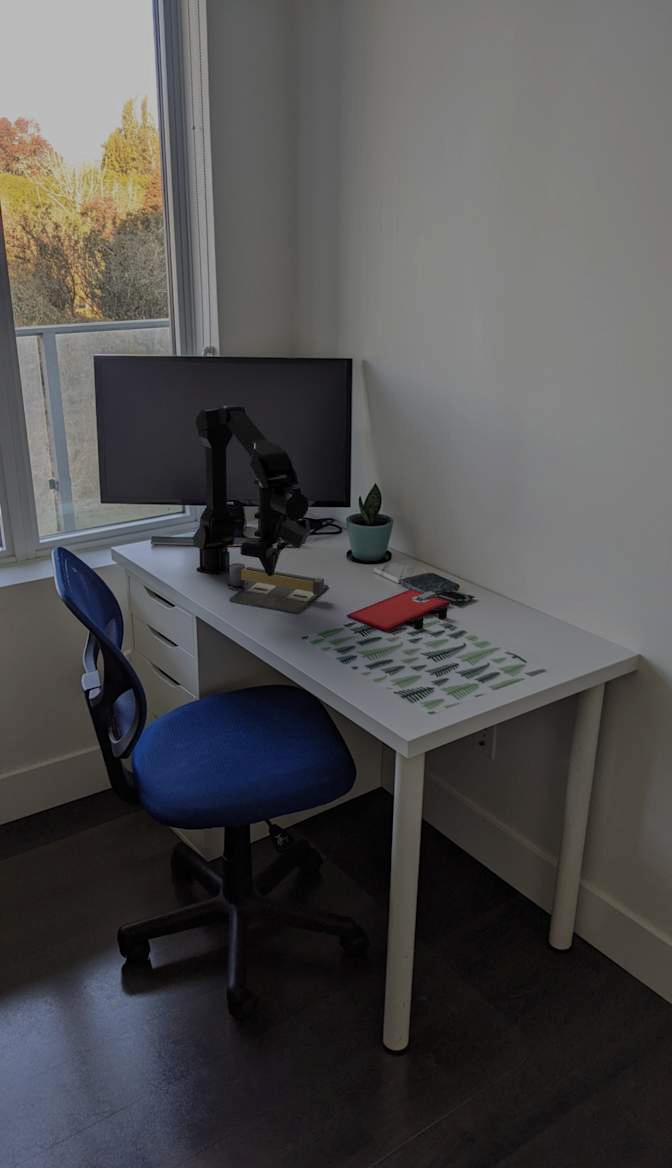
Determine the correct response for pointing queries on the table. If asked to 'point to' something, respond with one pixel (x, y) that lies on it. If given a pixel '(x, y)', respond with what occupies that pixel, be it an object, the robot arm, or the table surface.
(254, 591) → the panel
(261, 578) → the swing arm
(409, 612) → the red board with handle
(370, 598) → the table surface
